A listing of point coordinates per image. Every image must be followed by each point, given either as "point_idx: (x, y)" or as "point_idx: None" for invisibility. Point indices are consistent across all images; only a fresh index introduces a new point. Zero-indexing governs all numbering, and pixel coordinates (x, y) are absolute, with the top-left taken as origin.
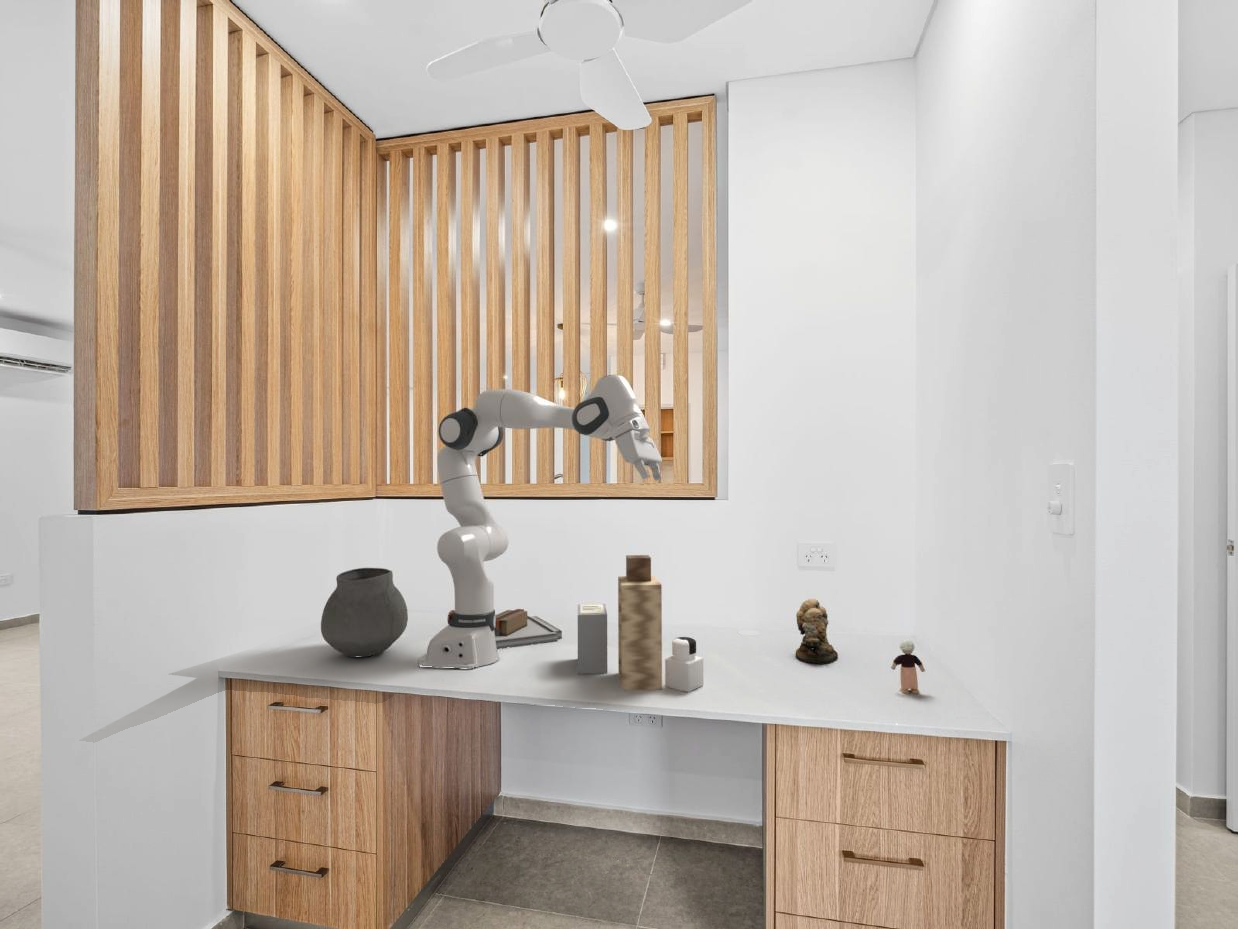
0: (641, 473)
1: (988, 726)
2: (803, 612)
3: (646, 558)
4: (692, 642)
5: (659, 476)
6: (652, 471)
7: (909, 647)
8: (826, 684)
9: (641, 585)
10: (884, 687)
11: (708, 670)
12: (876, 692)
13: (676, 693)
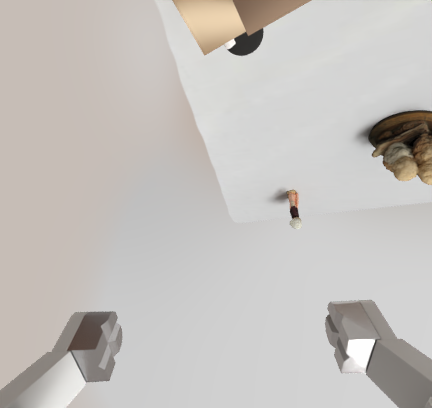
0: (60, 349)
1: (236, 219)
2: (424, 160)
3: (242, 20)
4: (234, 53)
5: (329, 338)
6: (417, 373)
7: (290, 224)
8: (296, 148)
9: (175, 5)
10: (298, 182)
11: (328, 14)
12: (283, 178)
13: None
